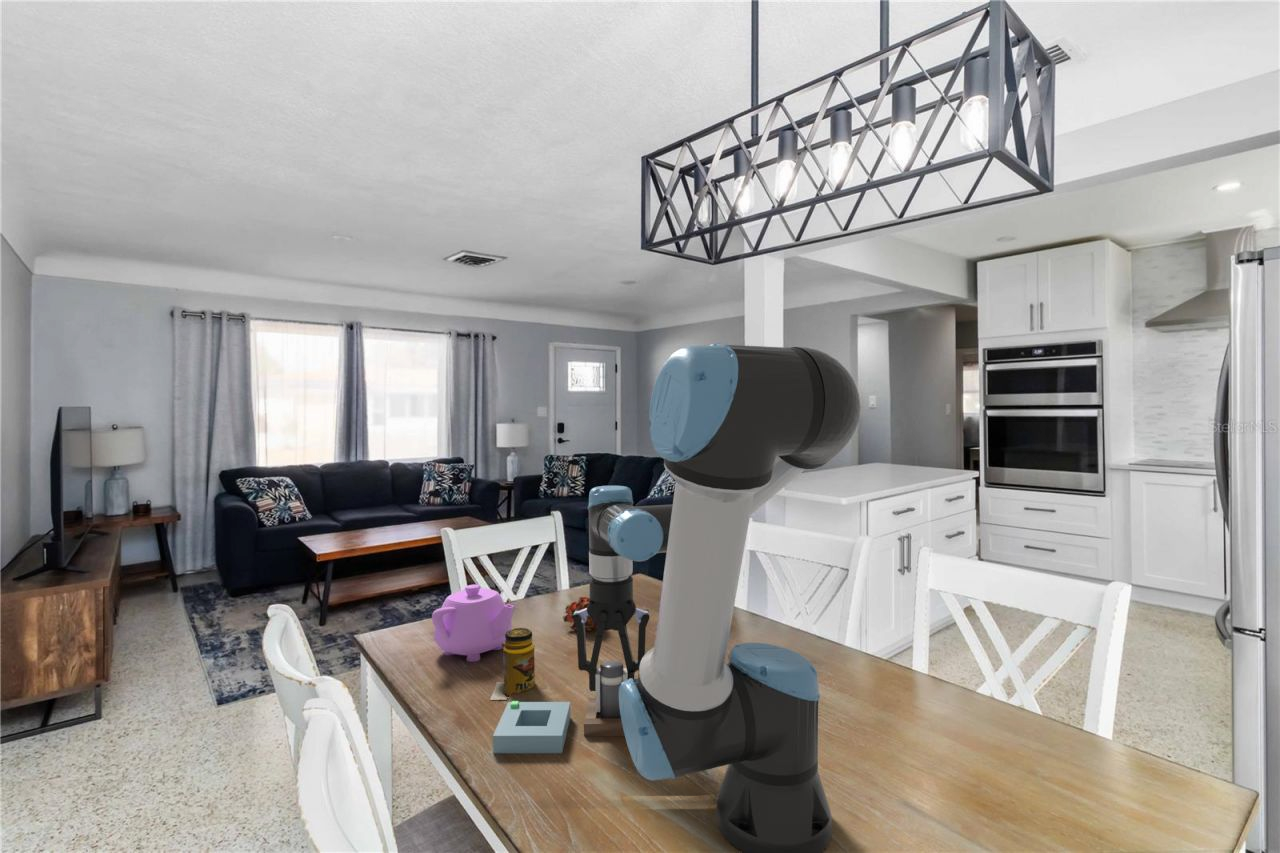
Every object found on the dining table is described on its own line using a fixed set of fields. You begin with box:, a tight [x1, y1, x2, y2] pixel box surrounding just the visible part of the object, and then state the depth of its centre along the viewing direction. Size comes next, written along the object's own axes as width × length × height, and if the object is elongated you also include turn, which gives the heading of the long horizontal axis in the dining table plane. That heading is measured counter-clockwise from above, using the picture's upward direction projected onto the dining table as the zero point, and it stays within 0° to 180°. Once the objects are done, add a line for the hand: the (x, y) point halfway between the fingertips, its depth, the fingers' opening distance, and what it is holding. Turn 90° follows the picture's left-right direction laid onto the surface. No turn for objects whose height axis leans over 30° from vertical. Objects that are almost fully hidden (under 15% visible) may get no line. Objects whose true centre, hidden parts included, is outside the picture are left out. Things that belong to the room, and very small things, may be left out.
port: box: [492, 700, 571, 754], centre depth 103 cm, size 11×11×5 cm
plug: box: [599, 660, 624, 718], centre depth 106 cm, size 4×4×10 cm
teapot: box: [431, 584, 516, 663], centre depth 139 cm, size 20×20×15 cm
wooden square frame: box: [583, 697, 625, 737], centre depth 107 cm, size 9×9×3 cm
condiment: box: [489, 627, 536, 701], centre depth 121 cm, size 7×8×12 cm
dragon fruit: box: [562, 596, 597, 631], centre depth 155 cm, size 8×8×12 cm
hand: (612, 707), depth 107 cm, fingers closed on plug, 4 cm apart
